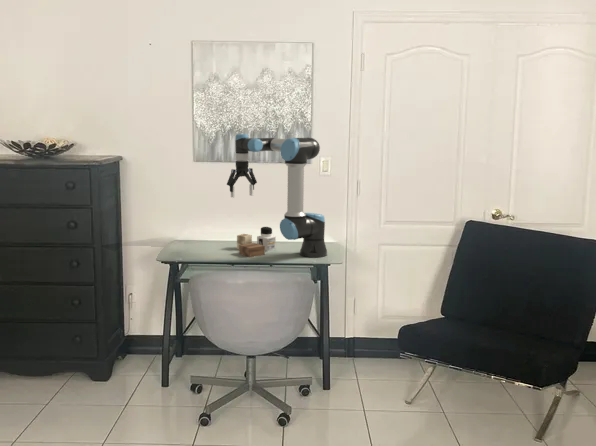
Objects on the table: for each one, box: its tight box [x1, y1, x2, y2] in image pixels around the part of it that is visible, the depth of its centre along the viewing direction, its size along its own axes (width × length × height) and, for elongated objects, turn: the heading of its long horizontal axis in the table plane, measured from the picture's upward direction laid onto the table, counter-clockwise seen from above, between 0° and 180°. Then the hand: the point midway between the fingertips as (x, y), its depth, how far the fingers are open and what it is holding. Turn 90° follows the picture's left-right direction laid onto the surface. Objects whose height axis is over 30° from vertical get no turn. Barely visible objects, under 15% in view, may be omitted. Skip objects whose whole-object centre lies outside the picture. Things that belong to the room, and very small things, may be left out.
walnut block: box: [238, 242, 266, 258], centre depth 353 cm, size 10×10×5 cm
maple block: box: [236, 233, 253, 250], centre depth 366 cm, size 6×6×8 cm
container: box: [256, 226, 277, 252], centre depth 365 cm, size 8×8×13 cm
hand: (242, 196), depth 378 cm, fingers open, 13 cm apart
